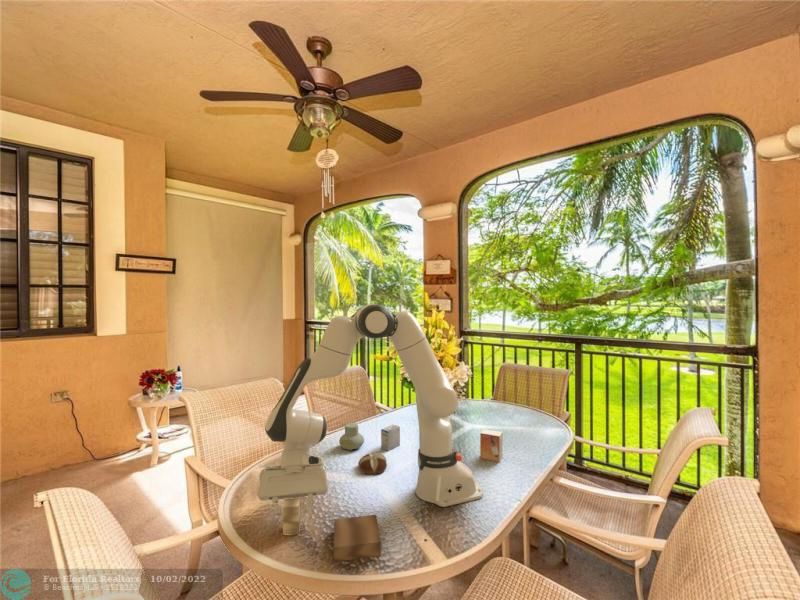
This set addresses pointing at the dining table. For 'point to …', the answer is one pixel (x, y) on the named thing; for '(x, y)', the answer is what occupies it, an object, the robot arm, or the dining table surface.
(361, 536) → the walnut base block
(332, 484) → the dining table surface
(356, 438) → the air freshener
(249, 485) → the dining table surface
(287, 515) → the maple block
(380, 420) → the dining table surface
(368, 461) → the bread
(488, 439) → the small box
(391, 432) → the medicine box
